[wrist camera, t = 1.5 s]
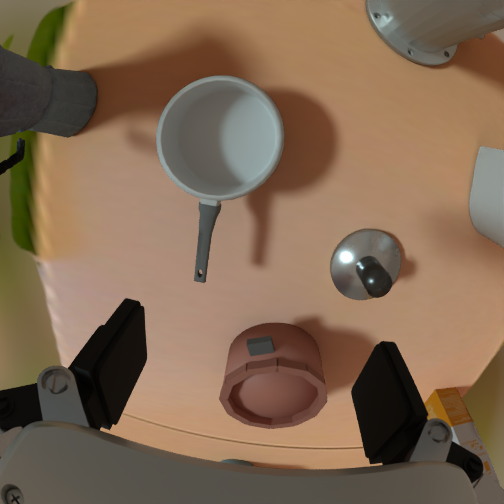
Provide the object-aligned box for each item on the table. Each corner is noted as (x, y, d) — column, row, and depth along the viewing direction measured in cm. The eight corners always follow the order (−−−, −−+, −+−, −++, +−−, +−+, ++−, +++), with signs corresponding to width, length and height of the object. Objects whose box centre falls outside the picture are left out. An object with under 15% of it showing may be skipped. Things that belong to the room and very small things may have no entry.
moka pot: (105, 42, 24) (-15, 1, 5) (103, 158, 29) (-32, 198, 11) (50, 63, 24) (-63, 53, 6) (50, 168, 30) (-68, 209, 12)
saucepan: (164, 251, 34) (146, 271, 29) (183, 82, 26) (166, 71, 21) (257, 268, 34) (254, 292, 29) (290, 95, 26) (295, 85, 21)
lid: (395, 221, 31) (415, 237, 25) (398, 286, 34) (414, 309, 29) (324, 236, 32) (334, 256, 27) (334, 301, 35) (343, 328, 30)
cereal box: (405, 445, 50) (428, 540, 23) (385, 447, 50) (405, 549, 23) (455, 387, 42) (504, 499, 14) (435, 389, 42) (483, 513, 14)
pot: (310, 302, 35) (319, 345, 27) (324, 385, 41) (330, 426, 33) (212, 320, 37) (200, 363, 29) (245, 397, 43) (241, 437, 35)
